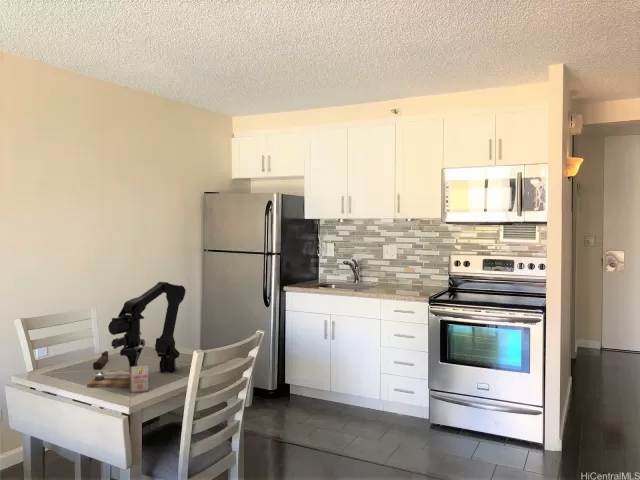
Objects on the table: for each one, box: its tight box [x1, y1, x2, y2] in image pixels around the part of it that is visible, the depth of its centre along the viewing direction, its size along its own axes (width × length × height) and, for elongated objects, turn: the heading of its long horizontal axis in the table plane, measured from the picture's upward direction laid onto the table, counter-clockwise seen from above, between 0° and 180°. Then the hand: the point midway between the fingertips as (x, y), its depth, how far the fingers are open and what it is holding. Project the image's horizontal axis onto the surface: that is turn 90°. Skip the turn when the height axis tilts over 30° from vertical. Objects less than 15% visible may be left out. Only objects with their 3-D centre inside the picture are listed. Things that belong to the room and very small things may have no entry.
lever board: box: [86, 369, 131, 388], centre depth 231 cm, size 20×19×3 cm
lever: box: [92, 360, 138, 378], centre depth 227 cm, size 18×4×8 cm, turn 94°
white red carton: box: [130, 365, 149, 394], centre depth 217 cm, size 4×7×10 cm, turn 108°
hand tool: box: [92, 350, 109, 371], centre depth 255 cm, size 19×4×5 cm, turn 6°
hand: (133, 367), depth 228 cm, fingers open, 3 cm apart
